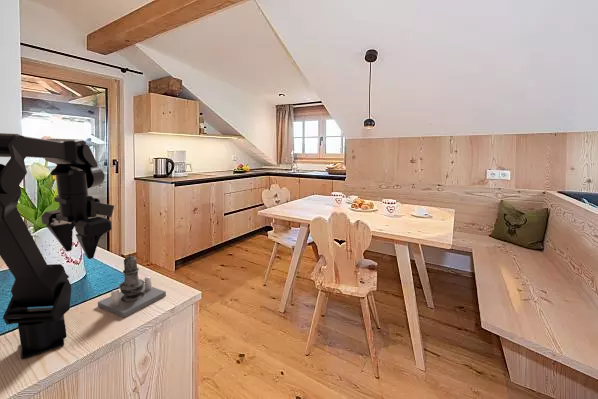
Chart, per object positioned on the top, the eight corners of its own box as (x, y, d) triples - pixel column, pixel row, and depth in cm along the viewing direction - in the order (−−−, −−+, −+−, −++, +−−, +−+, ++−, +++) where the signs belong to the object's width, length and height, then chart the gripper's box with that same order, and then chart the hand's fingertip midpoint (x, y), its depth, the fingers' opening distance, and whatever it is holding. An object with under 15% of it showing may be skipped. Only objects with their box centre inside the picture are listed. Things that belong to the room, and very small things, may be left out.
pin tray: (123, 317, 71) (122, 299, 70) (98, 306, 75) (96, 289, 74) (165, 295, 81) (165, 279, 80) (141, 286, 86) (140, 271, 85)
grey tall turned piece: (149, 296, 78) (147, 253, 76) (126, 305, 74) (123, 259, 71) (138, 289, 82) (135, 247, 80) (115, 297, 77) (111, 253, 75)
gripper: (130, 192, 74) (134, 251, 77) (86, 185, 82) (91, 239, 85) (82, 199, 64) (88, 267, 67) (36, 190, 72) (44, 251, 75)
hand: (79, 254), depth 74 cm, fingers open, 9 cm apart
